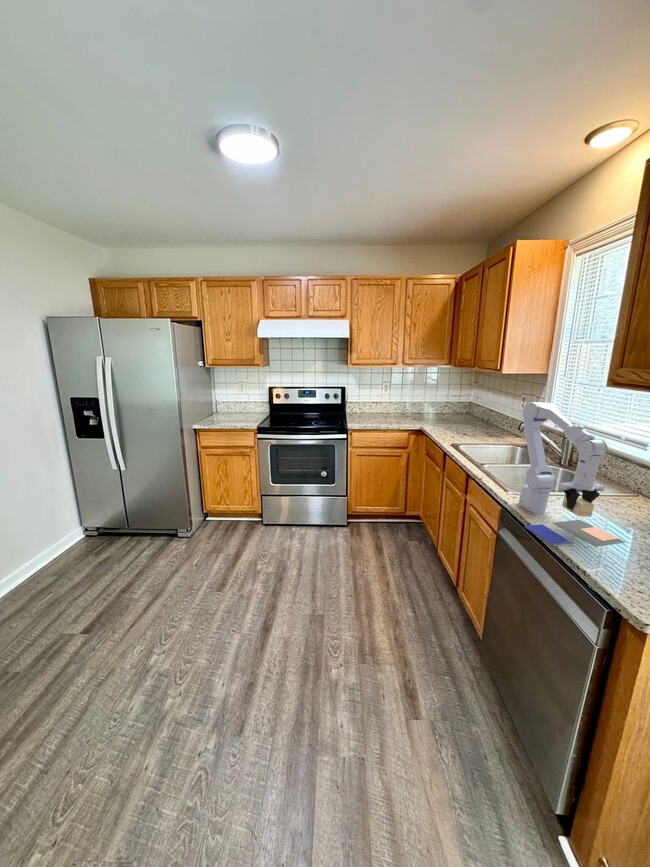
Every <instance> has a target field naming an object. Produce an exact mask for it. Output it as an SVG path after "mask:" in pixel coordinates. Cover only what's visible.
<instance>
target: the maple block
mask: <svg viewBox="0 0 650 867" xmlns="http://www.w3.org/2000/svg"><path fill="white" fill-rule="evenodd" d="M561 507H563V508H565V509H566V510H568V511H569V512H571V513H573V514H574V515H576V516H577V517H585V518H587V517H589V518H592V515H593V512H594V508H595V504H594V503H593V502H592V503H590V502H588V501H586V500H584V499H583V498H582V496H579V497H578V499H577V500H576V503H575V506H574V508H573V510H571V509H569V508H568V507H567V500H566V495H565V494H564V496H563V500H562V505H561Z"/></svg>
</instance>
